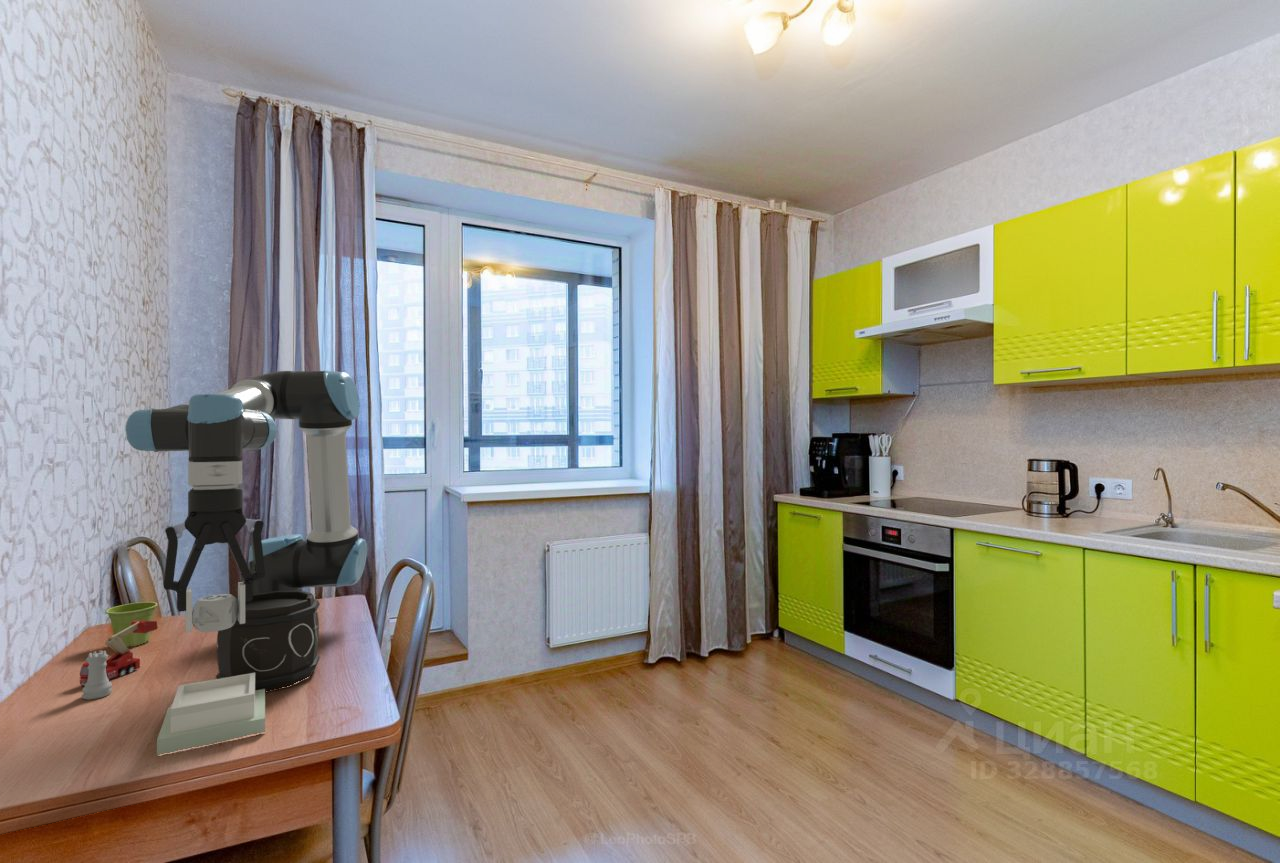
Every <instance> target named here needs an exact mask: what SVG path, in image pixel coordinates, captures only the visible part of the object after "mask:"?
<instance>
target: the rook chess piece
mask: <svg viewBox="0 0 1280 863" xmlns="http://www.w3.org/2000/svg"><path fill="white" fill-rule="evenodd" d="M108 657H109V654H107V651H106V650H99V651H98V653H97V651H96V650H95V651H93V652H89V653H88V656H87V658H86V659H85V662H88V663H89V666H88V667H87V668H88V669H89V675H88V680H87V683H86V684H85V686H84V687H82V691H81V692H82V693H83V694H82V695H81V698H82V699H83V700H85V699H87V700H86V701H91V699H92V700H98V699H103V698H105V697H107V696H109V695H110V694H111V693H112V692H113V689H112V687H113V684H112V682H111V681H110V679H108V678H107V674H106V665H107V664H106V660H108V659H109V658H108Z"/></svg>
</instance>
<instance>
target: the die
mask: <svg viewBox="0 0 1280 863" xmlns="http://www.w3.org/2000/svg"><path fill="white" fill-rule="evenodd" d="M237 616H238V601H237V598H236V596H234V595H233V594H230V593H229V594H228V593H221V594H211V595H207V596H202V597H199V598H198V599H197V600H196V601H195V603H194V605H193V606H192V627H194V629H195V630H196V631H198V632H200V633H212V632H213V633H215V632H218V631H220V630H225V629H228V628H230V627H232V626H233V625H234V624H235V622H236V619H237Z"/></svg>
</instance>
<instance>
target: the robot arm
mask: <svg viewBox="0 0 1280 863" xmlns="http://www.w3.org/2000/svg"><path fill="white" fill-rule="evenodd" d="M360 402H361V401H360V396H359V392H358V388H357V385H356V383H355V380H354V379H353V378H352V376H350V374H348V373H346V372H345V371H344V372H343V371H335V370H305V371H304V370H298V371H297V370H296V371H295V370H294V371H293V370H292V371H291V370H281V371H278V370H277V371H273V372H268V373H265V374H260V375H256V376H253V377H250V378H247V379H243V380H240V381H238V382H236V383H234V384H233V386H232V387H231V388H229V389H227V390H223V391H220V392H217V393H200V394H199V393H198V394H194V395H191V397H190V398H189V400H188V402H185V403H182V404H181V403H180V404H178V405H173V406H170V407H167V408H162V409H161V408H158V409H157V408H154V407H153V408H149V409H138V410H135V411H133V412H132V413H131V414H130V415H129V416H128V418H127V420H126V423H125V434H126V436H125V438H126V439H127V442H128V444H129V445H130V446H131V447H132V448H133V449H135V450H136V451H141V452H142V451H143V452H144V451H145V452H155V453H158V452H188V459H187V460H188V461H187V469H188V470H187V473H188V474H187V475H188V476H187V486H189V487H192V488H191V489H189V491H188V493H187V517H186V518H185V520H184V522H183V523H178V524H175V525H167V526H166V527H165V528H164V532H165V534H166V538H167V546H166V554H165V555H166V556H165V565H164V573H163V579H162V586H163V589H164V590H165V591H166V590H169V591H175V592H176V608H177V611H178V612H179V613H181V612H185V618H184V620H185V626H184V627H185V629H184V630H185V632H186V634H187V633H192V632H193V623H192V611H193V590H192V588H188V586H189V584H190V581H191V579H192V576H193V575H194V572H195V569H196V567H197V563H198V562H199V560H200V557H201V554H202V553H203V550H204V549H205V546H206V545H208V546H209V545H213V544H216V543H217V544H227V545H228V548H229V549H230V553H231V554H232V556H233V559H234V562H235V563H236V566H237V568H238V571H239V573H240V575H241V577H242V579H243V580H242V581H239V582H237V598H238V621H239V623H240V624H244V623H245V602H251V601H252V599H253V594H259V593H266V592H273V591H303V588H330V587H331V588H332V587H336V588H340V587H349V586H353V585H356V584H357V583H359V581H360V579H361V578H362V575H363V574H364V570H365V567H366V566H365V565H366V564H367V563H366V562H367V557H368V543H367V540H366V539H364V538H361V537H359V532H358V529H357V528H356V527H354V526H353V525H352V522H351V520H352V519H351V504H350V503H351V502H350V489H349V488H350V487H349V484H350V482H349V471H348V470H349V469H348V453H347V452H348V451H347V450H348V448H347V435H346V434H347V432H348V430H350V428H351V427H352V426H353V420H356V419H357V418H358V417H359V415H360V406H361V403H360ZM278 419H279V420H298V426H299V427H298V428H299V429H300V430H301V431H302V432H304V434H305V435H306V445H307V446H306V447H307V458H308V459H307V460H308V472H309V473H308V474H309V489H310V492H309V493H310V505H311V518H312V521H311V522H312V530H311V531H310V532H309V533H308V534H307V535H306V540H304V537H303V535H302V534H301V533H300V534H299V533H298V534H286V535H280V536H276V537H271V538H266V539H262V535H261V534H262V532H263V527H264V525H265V524H264V521H263V520H261V519H259V518H258V519H257V518H256V519H250V518H246V516H245V515H244V510H243V503H244V502H243V495H244V494H243V488H242V487H239V486H240V485H242V483H243V451H246V452H250V451H253V452H256V451H258V450H262V449H265V448H268V447H269V446H270V445H271V444H272V443H273V442H274V440H275V439H276V437H277V432H278V430H277V424H276V422H275V420H278ZM244 526H246V528H247V531H248V532H250V542H251V545H250V546H249V551H248V560H247V561H246V559H245V556H244V554H243V552H242V550H241V547H240V545H239V542H238V540H237V538H236V536H237V535H238V533H240V531H241V529H242V528H243V527H244ZM186 530H187V531H188V532H189V533H190V535H191V536H193V538H194V542H193V544H192V547H191V549H190V552H189V555H188V558H187V559H186V562H185V565H184V567H183V569H182V572H181V574H180V577H179V579H178V581H176V580H174V579H175V572H176V570H175V569H176V565H177V564H176V563H177V556H178V548H179V547H178V546H179V539H180V538H182V537H183V533H184V531H186ZM247 563H248V564H247Z"/></svg>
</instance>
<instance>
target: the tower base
mask: <svg viewBox="0 0 1280 863" xmlns="http://www.w3.org/2000/svg"><path fill="white" fill-rule="evenodd" d="M261 732H265V733H266V693H265V689H261V690H256V691H255V673H250V674H244V675H238V676H232V677H226V678H220V679H217V678H215V679H208V680H203V681H197V682H192V683H191V682H190V683H185V684H180V685H178V687H177V689H176V692H175V696H174V699H173V701H172V704H171V705H168V708H167V711H166V713H165V716H164V719H163V721H162V725H161V728H160V731H159V733H158V736H157V739H156V756H157V755H160V754H164V753H170V752H174V751H178V750H183V749H188V748H192V747H199V746H203V745H209V744H214V743H217V742H222V741H226V740H230V739H234V738H239V737H243V736H247V735H251V734H257V733H261Z"/></svg>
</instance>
